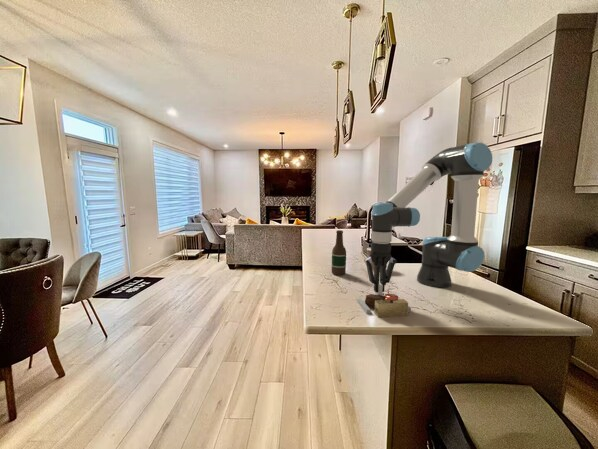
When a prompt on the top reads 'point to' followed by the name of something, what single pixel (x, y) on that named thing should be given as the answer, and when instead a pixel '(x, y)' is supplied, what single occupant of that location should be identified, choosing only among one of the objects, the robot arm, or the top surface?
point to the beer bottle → (339, 255)
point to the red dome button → (391, 306)
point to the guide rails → (369, 308)
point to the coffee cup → (369, 256)
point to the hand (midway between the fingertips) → (378, 299)
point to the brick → (373, 300)
